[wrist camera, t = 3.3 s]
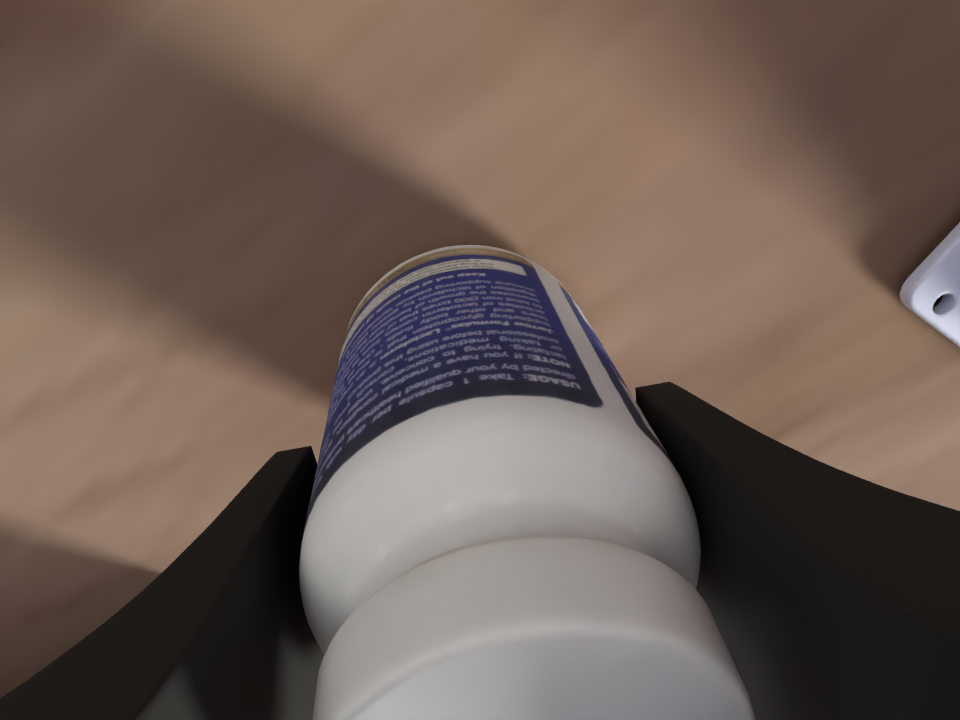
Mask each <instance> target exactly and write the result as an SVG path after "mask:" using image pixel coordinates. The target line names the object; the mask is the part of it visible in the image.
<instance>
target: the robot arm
mask: <svg viewBox="0 0 960 720" xmlns="http://www.w3.org/2000/svg"><path fill="white" fill-rule="evenodd" d="M942 295H943V297H942V300H941V301H940V303H939V304H938V305H936V306H935V307H934V308H933V304H934V303H935V301H936V300H937V299H938V298H939V297H940V296H942ZM900 300H901V302H902V303H903V305H904V306H905V307H907V308H908V309H909V310H911V311H912V312H913V313H915V314H916V315H917V316H919V317H920V318H921V319H923V320H924V321H925V322H926V323H928V324H929V325H930V326H932V327H933V328H934V329H936V330H937V331H938V332H940V333H941V334H942V335H944V336H945V337H946V338H948V339H949V340H950V341H952V342H953V343H954V344H955V345H957V346H958V347H959V348H960V222H959V224H958V225H957V226H956V227H955V228H954V229H953V230H952V231H951V232H950V233H949V234H948V235H947V236H946V237H945V239H944V240H943V241H942V242H941V243H940V244H939V245H938V246H937V247H936V248H935V249H934V250H933V251H932V252H931V253H930V255H929V256H928V257H927V258H926V259H925V260H924V261H923V262H922V263H921V264H920V265H919V266H918V267H917V268H916V270H915V271H914V272H913V273H912V274H911V275H910V276H909V277H908V278H907V279H906V281H905V282H904V284H903V285H902V287H901V291H900ZM636 403H637V405H638V406H639V408H640V409H641V411H642V413H643V414H644V416H645V418H646V420H647V421H648V423H649V425H650V426H651V428H652V429H653V431H654V433H655V434H656V436H657V438H658V439H659V441H660V442H661V444H662V446H663V447H664V449H665V451H666V452H667V454H668V456H669V457H670V459H671V460H672V462H673V464H674V466H675V468H676V470H677V472H678V473H679V475H680V477H681V479H682V481H683V483H684V486H685V488H686V490H687V492H688V494H689V496H690V499H691V502H692V505H693V507H694V511H695V514H696V518H697V522H698V528H699V535H700V545H701V559H700V571H699V577H698V583H697V587H696V590H697V592H698V593H699V594H700V596H701V597H702V598H703V599H704V601H705V602H706V604H707V606H708V607H709V609H710V611H711V613H712V615H713V617H714V619H715V622H716V624H717V626H718V628H719V630H720V632H721V635H722V637H723V639H724V641H725V643H726V646H727V648H728V650H729V652H730V654H731V657H732V659H733V661H734V663H735V665H736V668H737V670H738V672H739V674H740V676H741V679H742V681H743V683H744V685H745V687H746V690H747V692H748V694H749V696H750V699H751V703H752V706H753V710H754V713H755V720H960V511H957V510H954V509H951V508H947V507H944V506H941V505H938V504H934V503H931V502H928V501H925V500H922V499H918V498H915V497H912V496H909V495H906V494H903V493H900V492H897V491H894V490H891V489H888V488H885V487H882V486H880V485H877V484H874V483H872V482H869V481H867V480H864V479H861V478H859V477H856V476H854V475H851V474H849V473H846V472H844V471H841V470H838V469H836V468H833V467H831V466H829V465H827V464H824V463H822V462H820V461H817V460H815V459H813V458H811V457H809V456H807V455H804V454H802V453H800V452H798V451H796V450H794V449H792V448H790V447H788V446H786V445H783V444H781V443H779V442H777V441H775V440H773V439H772V438H770V437H768V436H766V435H764V434H762V433H760V432H758V431H756V430H754V429H752V428H751V427H749V426H747V425H745V424H743V423H742V422H740V421H738V420H736V419H734V418H733V417H731V416H729V415H727V414H726V413H724V412H722V411H720V410H719V409H717V408H715V407H713V406H712V405H710V404H708V403H707V402H705V401H703V400H701V399H700V398H698V397H696V396H695V395H693V394H691V393H689V392H688V391H686V390H684V389H683V388H681V387H679V386H677V385H675V384H673V383H671V382H666V383H660V384H655V385H649V386H643V387H638V388H636ZM316 470H317V462H316V459H315V456H314V453H313V450H312V447H311V446H308V447H302V448H297V449H291V450H286V451H280V452H276V453H275V454H274V455H273V456H272V457H271V458H270V459H269V460H268V461H267V462H266V464H265V465H264V466H263V467H262V468H261V469H260V470H259V471H258V472H257V473H256V475H255V476H254V477H253V478H252V479H251V480H250V481H249V482H248V484H247V485H246V486H245V487H244V488H243V489H242V490H241V491H240V493H239V494H238V495H237V496H236V497H235V498H234V499H233V500H232V501H231V502H230V503H229V505H228V506H227V507H226V508H225V509H224V510H223V511H222V512H221V513H220V514H219V516H218V517H217V518H216V519H215V520H214V521H213V522H212V523H211V524H210V525H209V526H208V527H207V529H206V530H205V531H204V532H203V533H202V534H201V535H200V536H199V537H198V538H197V539H196V540H195V541H194V542H193V543H192V544H191V545H190V546H189V547H188V548H187V549H186V550H185V551H184V552H183V553H182V554H181V555H180V556H179V557H178V558H177V559H176V560H175V561H174V562H173V563H172V564H171V565H170V566H169V567H168V568H167V569H166V570H165V571H163V572H162V573H161V574H160V575H159V576H158V577H157V578H156V579H155V580H154V581H153V582H152V583H150V584H149V585H148V586H147V587H146V588H145V589H144V590H143V591H142V592H140V593H139V594H138V595H137V596H136V597H135V598H133V599H132V600H131V601H130V602H129V603H128V604H126V605H125V606H124V607H123V608H122V609H120V610H119V611H118V612H117V613H116V614H115V615H113V616H112V617H111V618H110V619H109V620H107V621H106V622H105V623H104V624H102V625H101V626H100V627H99V628H97V629H96V630H95V631H93V632H92V633H91V634H89V635H88V636H87V637H85V638H84V639H83V640H81V641H80V642H79V643H77V644H76V645H75V646H73V647H72V648H71V649H69V650H68V651H67V652H65V653H64V654H63V655H61V656H60V657H59V658H57V659H56V660H55V661H53V662H52V663H51V664H49V665H48V666H47V667H45V668H44V669H43V670H41V671H40V672H39V673H37V674H36V675H34V676H33V677H31V678H30V679H29V680H27V681H26V682H24V683H23V684H21V685H20V686H18V687H17V688H15V689H14V690H12V691H11V692H9V693H8V694H6V695H5V696H3V697H2V698H1V699H0V720H313V710H314V702H315V694H316V686H317V679H318V673H319V669H320V666H321V663H322V660H323V657H324V653H323V652H322V650H321V649H320V647H319V645H318V643H317V641H316V639H315V637H314V635H313V633H312V631H311V629H310V626H309V624H308V621H307V618H306V615H305V612H304V608H303V603H302V597H301V592H300V582H299V563H300V553H301V546H302V539H303V533H304V527H305V521H306V516H307V511H308V507H309V503H310V498H311V494H312V489H313V484H314V479H315V475H316Z"/></svg>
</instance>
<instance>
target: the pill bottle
mask: <svg viewBox="0 0 960 720" xmlns="http://www.w3.org/2000/svg"><path fill="white" fill-rule="evenodd" d="M700 559H701V545H700V535H699V528H698V522H697V518H696V514H695V511H694V507H693V505H692V502H691V499H690V496H689V494H688V492H687V490H686V488H685V486H684V483H683V481H682V479H681V477H680V475H679V473H678V472H677V470H676V468H675V466H674V464H673V462H672V460H671V459H670V457H669V456H668V454H667V452H666V451H665V449H664V447H663V446H662V444H661V442H660V441H659V439H658V438H657V436H656V434H655V433H654V431H653V429H652V428H651V426H650V425H649V423H648V421H647V420H646V418H645V416H644V414H643V413H642V411H641V409H640V408H639V406H638V405H637V403H636V401H635V400H634V398H633V396H632V395H631V393H630V391H629V390H628V388H627V386H626V385H625V383H624V381H623V380H622V378H621V376H620V375H619V373H618V371H617V370H616V368H615V366H614V365H613V363H612V361H611V359H610V358H609V356H608V354H607V353H606V351H605V349H604V347H603V346H602V344H601V342H600V341H599V339H598V337H597V335H596V333H595V331H594V330H593V328H592V327H591V325H590V324H589V322H588V320H587V319H586V317H585V316H584V314H583V312H582V310H581V309H580V307H579V306H578V304H577V303H576V301H575V300H574V298H573V297H572V296H571V294H570V293H569V292H568V291H567V289H566V288H565V287H564V286H563V285H562V284H561V283H560V281H559V280H558V279H557V278H555V277H554V276H553V275H552V274H551V273H550V272H548V271H547V270H546V269H545V268H543V267H542V266H540V265H538V264H537V263H535V262H534V261H532V260H530V259H528V258H526V257H524V256H522V255H519V254H516V253H514V252H511V251H508V250H504V249H500V248H496V247H490V246H481V245H458V246H448V247H443V248H439V249H434V250H431V251H428V252H425V253H422V254H420V255H417V256H415V257H413V258H411V259H409V260H407V261H405V262H403V263H401V264H399V265H398V266H397V267H395V268H394V269H392V270H391V271H389V272H388V273H387V274H386V275H384V276H383V277H382V278H381V279H380V280H379V281H378V282H377V283H376V284H374V285H373V287H372V288H371V289H370V290H369V291H368V292H367V293H366V295H365V296H364V298H363V299H362V300H361V302H360V303H359V305H358V307H357V308H356V310H355V312H354V314H353V316H352V318H351V320H350V323H349V325H348V328H347V331H346V334H345V338H344V341H343V345H342V349H341V355H340V358H339V364H338V368H337V373H336V378H335V383H334V389H333V394H332V398H331V403H330V407H329V412H328V418H327V422H326V427H325V432H324V437H323V441H322V445H321V450H320V455H319V461H318V465H317V470H316V475H315V479H314V484H313V489H312V494H311V498H310V503H309V507H308V511H307V516H306V521H305V527H304V533H303V539H302V546H301V553H300V563H299V582H300V592H301V597H302V603H303V608H304V612H305V615H306V618H307V621H308V624H309V626H310V629H311V631H312V633H313V635H314V637H315V639H316V641H317V643H318V645H319V647H320V649H321V650H322V652H323V653H324V657H323V660H322V663H321V666H320V669H319V673H318V679H317V686H316V694H315V702H314V710H313V720H755V713H754V710H753V706H752V703H751V699H750V696H749V694H748V692H747V690H746V687H745V685H744V683H743V681H742V679H741V676H740V674H739V672H738V670H737V668H736V665H735V663H734V661H733V659H732V657H731V654H730V652H729V650H728V648H727V646H726V643H725V641H724V639H723V637H722V635H721V632H720V630H719V628H718V626H717V624H716V622H715V619H714V617H713V615H712V613H711V611H710V609H709V607H708V606H707V604H706V602H705V601H704V599H703V598H702V597H701V596H700V594H699V593H698V592H697V590H696V587H697V583H698V577H699V571H700Z"/></svg>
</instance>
